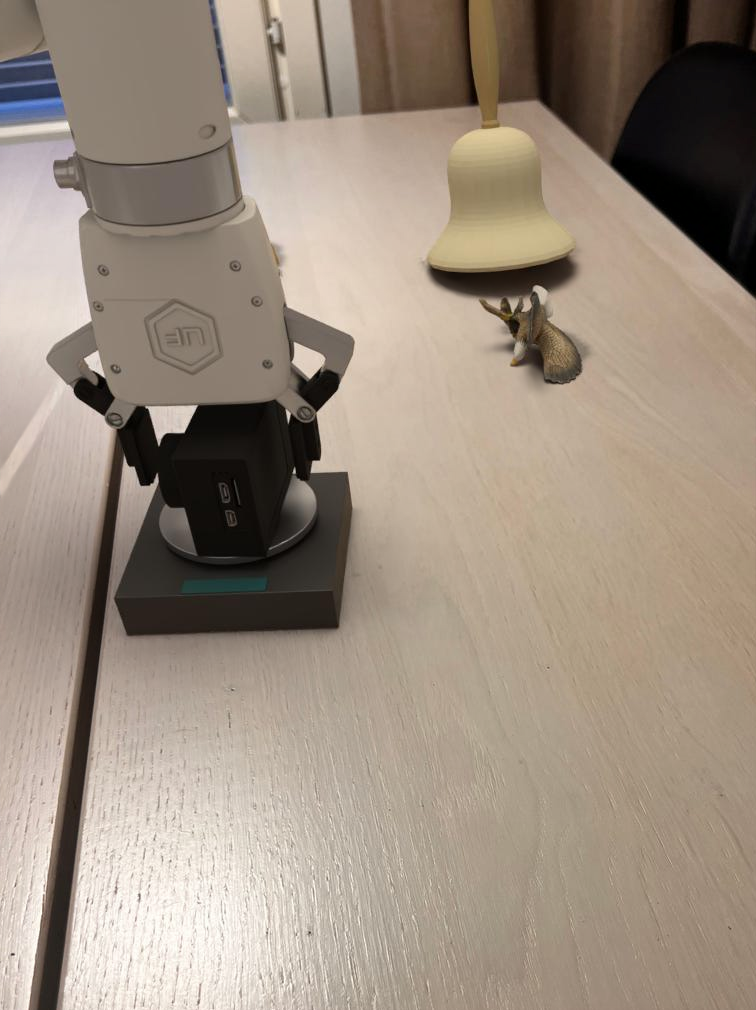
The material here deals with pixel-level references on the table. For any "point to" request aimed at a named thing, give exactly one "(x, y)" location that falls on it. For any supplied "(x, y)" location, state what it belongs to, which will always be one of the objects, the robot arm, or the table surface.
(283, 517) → the scale pan
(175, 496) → the digital camera
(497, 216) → the handbell
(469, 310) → the table surface
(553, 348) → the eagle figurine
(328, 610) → the scale
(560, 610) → the table surface
